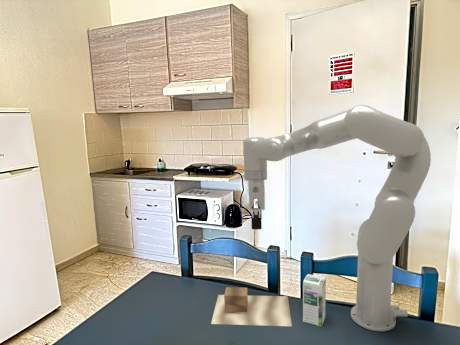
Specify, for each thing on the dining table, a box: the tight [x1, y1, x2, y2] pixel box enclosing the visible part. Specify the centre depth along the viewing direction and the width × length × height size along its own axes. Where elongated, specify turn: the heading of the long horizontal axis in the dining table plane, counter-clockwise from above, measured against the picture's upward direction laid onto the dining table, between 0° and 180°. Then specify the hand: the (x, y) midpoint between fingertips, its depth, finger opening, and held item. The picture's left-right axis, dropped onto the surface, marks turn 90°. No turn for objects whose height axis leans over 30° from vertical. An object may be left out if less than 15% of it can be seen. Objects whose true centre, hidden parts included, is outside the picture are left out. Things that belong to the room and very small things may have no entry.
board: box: [210, 294, 293, 327], centre depth 103 cm, size 24×16×2 cm, turn 84°
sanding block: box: [223, 286, 249, 314], centre depth 103 cm, size 7×5×6 cm
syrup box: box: [302, 273, 327, 328], centre depth 96 cm, size 6×6×14 cm
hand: (256, 224), depth 109 cm, fingers open, 9 cm apart
